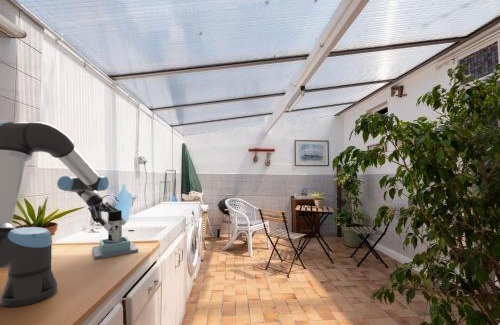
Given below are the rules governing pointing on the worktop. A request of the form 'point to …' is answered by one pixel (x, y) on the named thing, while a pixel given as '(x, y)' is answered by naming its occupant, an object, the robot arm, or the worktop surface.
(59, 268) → the worktop surface
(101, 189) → the robot arm
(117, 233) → the spray can
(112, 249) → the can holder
